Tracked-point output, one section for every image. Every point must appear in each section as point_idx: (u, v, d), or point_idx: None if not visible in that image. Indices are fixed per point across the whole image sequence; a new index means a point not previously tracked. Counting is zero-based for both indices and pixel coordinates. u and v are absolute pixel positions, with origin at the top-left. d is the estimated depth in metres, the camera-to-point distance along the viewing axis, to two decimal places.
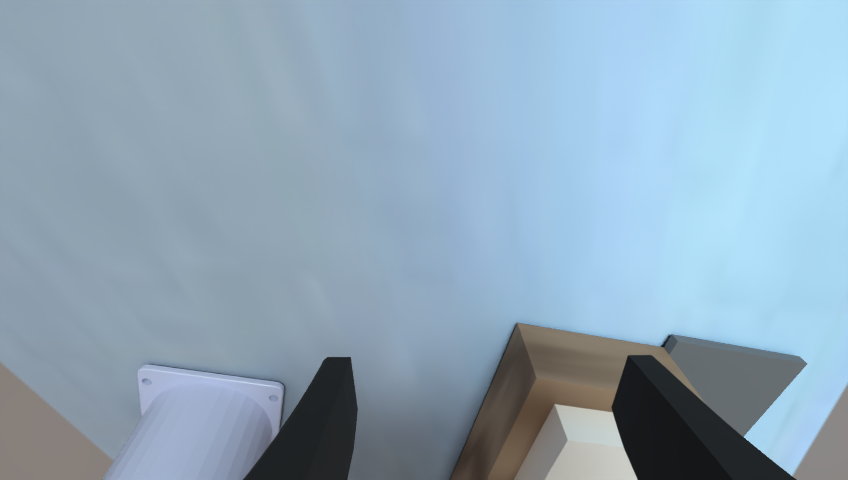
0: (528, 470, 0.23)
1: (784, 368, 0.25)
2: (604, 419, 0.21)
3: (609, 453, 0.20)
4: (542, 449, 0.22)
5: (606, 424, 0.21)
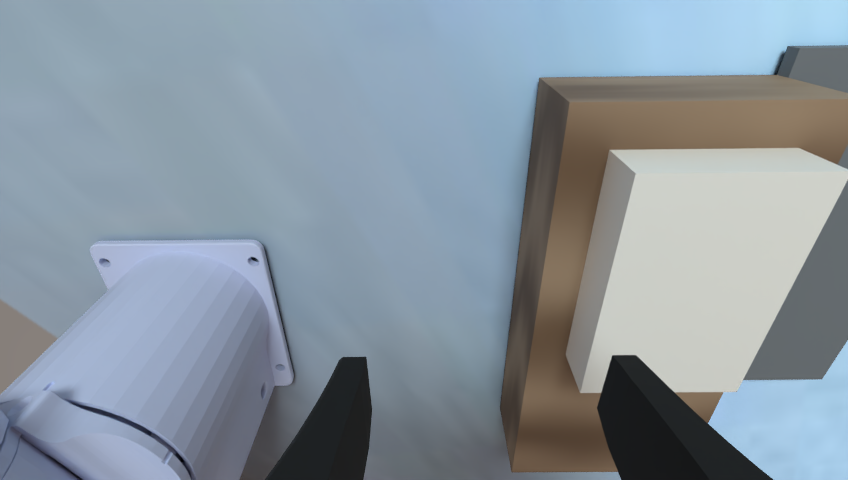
0: (591, 271, 0.15)
1: None
2: (695, 154, 0.13)
3: (712, 189, 0.12)
4: (604, 226, 0.14)
5: (699, 157, 0.13)
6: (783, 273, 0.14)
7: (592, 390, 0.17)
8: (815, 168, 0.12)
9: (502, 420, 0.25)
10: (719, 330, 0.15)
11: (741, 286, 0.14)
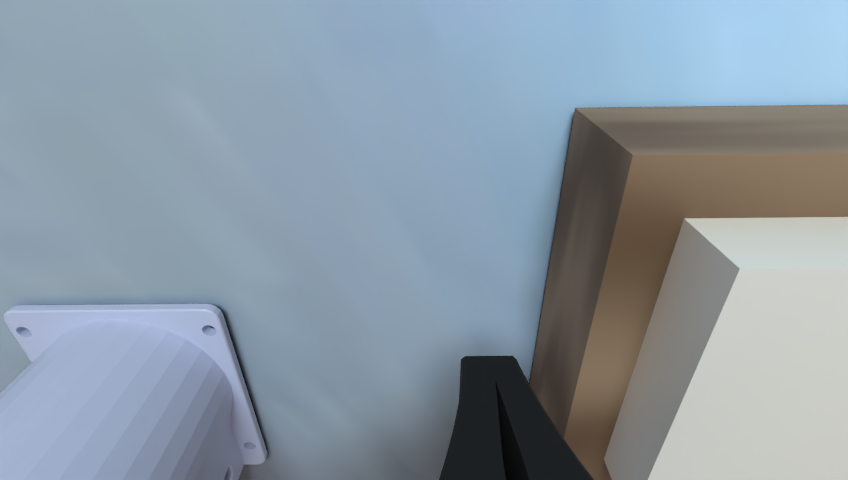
0: (649, 374, 0.11)
1: None
2: (811, 228, 0.09)
3: None
4: (673, 321, 0.10)
5: (821, 235, 0.09)
6: None
7: None
8: None
9: None
10: (826, 458, 0.11)
11: None
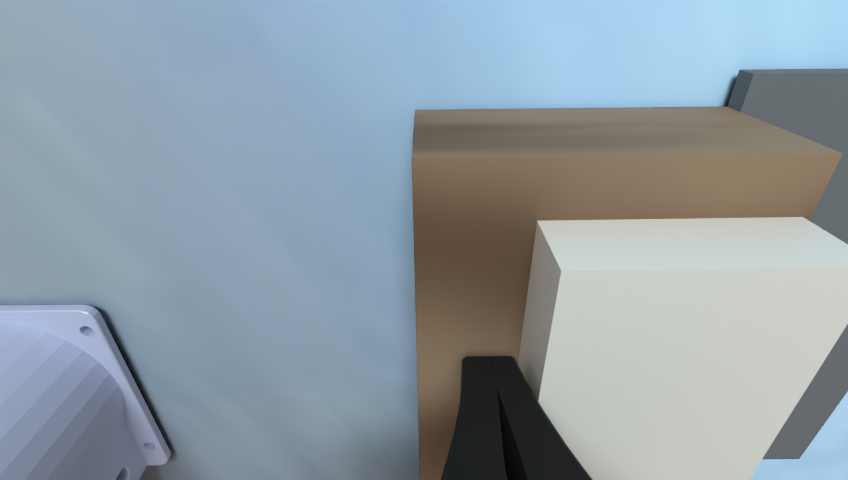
0: (524, 375, 0.11)
1: None
2: (655, 230, 0.09)
3: (676, 291, 0.08)
4: (533, 323, 0.10)
5: (661, 236, 0.09)
6: (782, 392, 0.10)
7: None
8: (828, 259, 0.08)
9: None
10: (696, 457, 0.11)
11: (723, 408, 0.10)
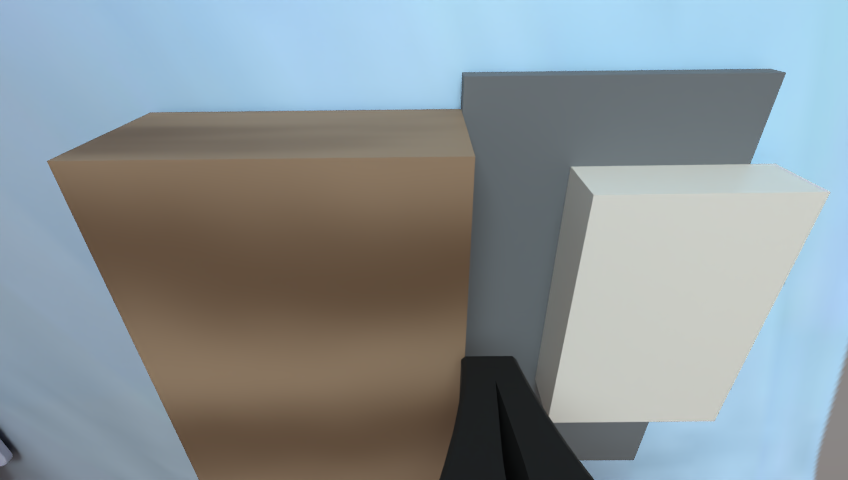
0: None
1: (735, 96, 0.12)
2: (721, 184, 0.11)
3: None
4: None
5: (716, 180, 0.12)
6: None
7: None
8: (601, 169, 0.13)
9: None
10: None
11: None
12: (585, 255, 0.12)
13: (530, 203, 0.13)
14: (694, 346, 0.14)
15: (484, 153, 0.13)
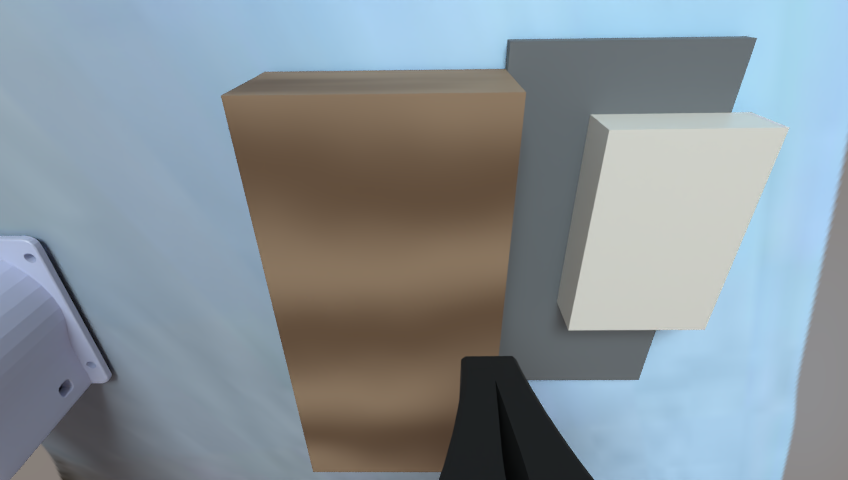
0: None
1: (718, 57, 0.15)
2: (706, 124, 0.15)
3: None
4: None
5: (703, 121, 0.15)
6: None
7: None
8: (614, 116, 0.16)
9: None
10: None
11: None
12: (602, 180, 0.16)
13: (557, 145, 0.17)
14: (687, 260, 0.17)
15: None
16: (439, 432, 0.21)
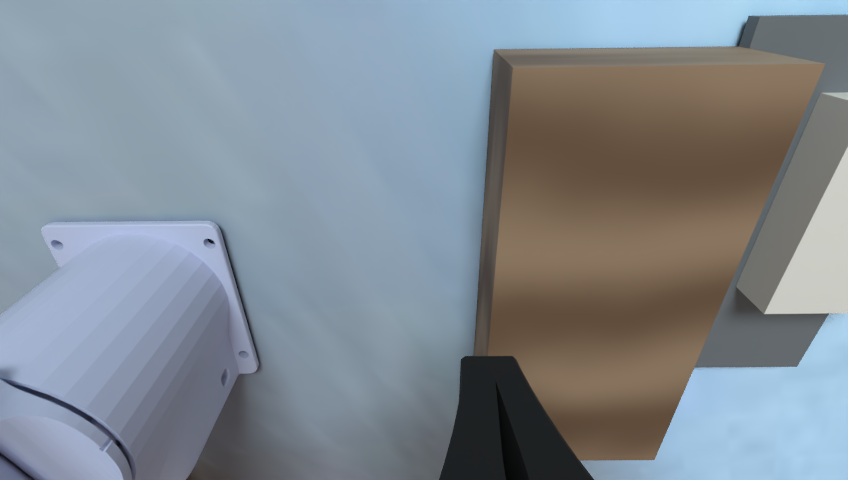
0: None
1: None
2: None
3: None
4: None
5: None
6: None
7: None
8: None
9: None
10: None
11: None
12: (845, 158, 0.15)
13: None
14: None
15: None
16: (619, 418, 0.20)
